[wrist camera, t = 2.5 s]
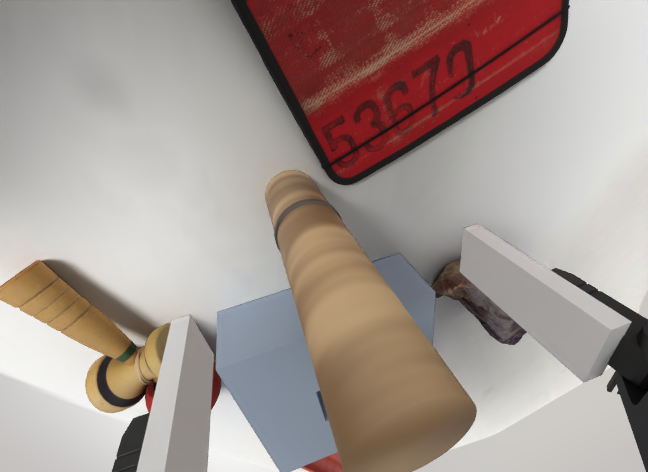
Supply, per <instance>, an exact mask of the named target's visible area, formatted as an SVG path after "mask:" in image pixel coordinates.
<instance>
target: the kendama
mask: <svg viewBox="0 0 648 472" xmlns="http://www.w3.org/2000/svg"><path fill="white" fill-rule="evenodd" d="M0 300H2V301H4V302H6V303H8V304H10V305H12V306H14V307H19V308H20V310H21V311H23V312H25V313H27V314H29V315H31V316H33V317H35V318H36V319H38V320H40V321H41V322H43V323H47V325H49V326H50V327H52V328H54V329H56V330H58V331H61V333H63V334H65V335H66V336H68V337H70V338H72V339H74V340H76V341H78V342H79V343H81V344H83V345H85V346H87V347H89V348H91V349H94V350H96V351H98V352H100V353H103V354H105V355H104V356H102V357H100V358H99V359H98V360H97V361H95V362H94V363H93V365H92V366H91V367H90V369H89V371H88V373H87V378H86V384H85V385H86V386H85V387H86V393H87V396H88V398H89V400H90V402H91V403H92V404H93V405H94V406H95V407H96V408H97V409H98V410H100V411H103V412H107V413H115V412H120V411H123V410H125V409H127V408H129V407H131V406H133V405H135V404H136V403H138V402H139V401H140V400H141V399H142V398H143V396H144V395H145V394H146V395H145V399H146V406H147V409H148V412H149V413H150V411H151V407H152V402H153V398H154V394H155V390H156V385H157V381H158V377H159V372H160V368H161V364H162V359H163V355H164V351H165V347H166V342H167V338H168V334H169V329H170V325H171V323H167V324H165V325H163V326H161V327H159V328H157V329H155V330H154V331H152V333H151V334H150V335H149V337H148V339H147V341H146V344H145V346H143V347H142V348H140V349H139V348H138V347H137V346H136V345H135V344H134V343H133V342H132V341H131V340H130V339H129V338H128V337H127V336H126V335H125V334H124V333H123V332H122V331H121V330H120V329H119V328H118V327H117V326H116V325H115V324H114V323H113V322H112V321H111V320H109V319H108V318H107V317H106V316H105V315H104V314H103V313H102V312H100V311H99V310H98V309H97V308H95V307H94V306H93V305H90V303H89V302H88V301H87V300H86V299H85V298H83V297H82V296H79V293H77V292H76V291H75V290H74V289H73V288H71V287H69V285H68V284H67V283H66V282H64V281H63V280H62V279H61V278H58V276H57V275H56V274H55V273H54V272H53V271H52V270H51V269H49V268H48V267H47V266H46V265H45V264H44V263H43V262H41V261H40V260H38V261H35V262H34V263H32V264H31V265H30V266H28V267H27V268H25V269H24V270H22V271H21V272H20V273H18V274H17V275H15V276H14V277H13V278H11V279H10V280H8V281H7V282H6V283H4V284H3V285H2V286H0ZM220 388H221V378H220V376H219V374H218V373H217V371H216V364H215V363H213V380H212V397H211V409H212V408H213V406H214V405H215V403H216V401H217V399H218V396H219V393H220Z"/></svg>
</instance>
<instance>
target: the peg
mask: <svg viewBox="0 0 648 472" xmlns="http://www.w3.org/2000/svg"><path fill="white" fill-rule="evenodd" d="M265 198H266V203H267V206H268V210H269V213H270V217H271V220H272V224H273V227H274V235H275V240H276V244H277V247H278V249H279V250H280V252H281V255H282V259H283V262H284V266H285V269H286V273H287V276H288V280H289V283H290V287H291V290H292V294H293V297H294V301H295V304H296V308H297V311H298V315H299V318H300V322H301V325H302V329H303V332H304V336H305V339H306V343H307V346H308V350H309V353H310V357H311V360H312V364H313V367H314V371H315V374H316V378H317V381H318V385H319V388H320V392H321V395H322V399H323V402H324V406H325V409H326V413H327V416H328V420H329V423H330V427H331V430H332V434H333V437H334V441H335V444H336V448H337V451H338V455H339V458H340V462H341V465H342V469H343V472H412V471H414V470H417V469H419V468H421V467H423V466H425V465H426V464H428V463H430V462H431V461H433V460H435V459H436V458H438V457H440V456H441V455H442V454H444V453H445V452H447V451H448V450H449V449H450V448H452V447H453V446H454V445H455V444H456V443H457V442H458V441H460V439H461V438H462V437H463V436H464V435H465V434H466V433H467V432H468V430H469V429H470V427H471V426H472V424H473V422H474V420H475V417H476V412H477V410H476V406H475V404H474V402H473V401H472V399H471V398H470V397H469V395H468V394H467V393H466V391H465V390H464V388H463V387H462V386H461V384H460V383H459V382H458V380H457V379H456V377H455V376H454V375H453V373H452V372H451V371H450V369H449V368H448V366H447V365H446V364H445V362H444V361H443V360H442V358H441V357H440V355H439V354H438V353H437V351H436V350H435V349H434V347H433V346H432V344H431V343H430V342H429V340H428V339H427V337H426V336H425V335H424V333H423V332H422V331H421V329H420V328H419V326H418V325H417V324H416V322H415V321H414V320H413V318H412V317H411V315H410V314H409V313H408V311H407V310H406V309H405V307H404V306H403V304H402V303H401V302H400V300H399V299H398V298H397V296H396V295H395V293H394V292H393V291H392V289H391V288H390V287H389V285H388V284H387V282H386V281H385V280H384V278H383V277H382V276H381V274H380V273H379V271H378V270H377V269H376V267H375V266H374V265H373V263H372V262H371V260H370V259H369V258H368V256H367V255H366V253H365V252H364V251H363V249H362V248H361V247H360V245H359V244H358V242H357V241H356V240H355V238H354V237H353V236H352V234H351V233H350V231H349V230H348V229H347V227H346V226H345V225H344V223H343V222H342V219H341V217H340V215H339V213H338V212H337V211H336V210H335V208H334V207H333V206H332V205H330V204H329V203H328V201H327V200H326V198H325V197H324V196H323V194H322V193H321V192H320V190H319V189H318V187H317V186H316V185H315V183H314V182H313V181H312V179H311V178H310V177H309V176H308V175H306V174H305V173H303V172H300V171H296V170H289V171H284V172H281V173H279V174H278V175H276V176H275V177H274V178H273V179H272V180H271V181H270V182H269V184H268V186H267V189H266V194H265Z"/></svg>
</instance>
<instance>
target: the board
mask: <svg viewBox="0 0 648 472" xmlns="http://www.w3.org/2000/svg"><path fill="white" fill-rule="evenodd" d="M372 263H373V265H374V266H375V267H376V269H377V270H378V271H379V273H380V274H381V276H382V277H383V278H384V280H385V281H386V282H387V284H388V285H389V287H390V288H391V289H392V291H393V292H394V293H395V295H396V296H397V298H398V299H399V300H400V302H401V303H402V304H403V306H404V307H405V309H406V310H407V311H408V313H409V314H410V315H411V317H412V318H413V320H414V321H415V322H416V324H417V325H418V326H419V328H420V329H421V331H422V332H423V333H424V335H425V336H426V337H427V339H428V340H429V342H430V343H431V344H432V346H433V330H434V312H435V293H436V292H435V291H434V290H433V289H432V288H431V287H430V286H429V285H428V284H427V282H426V281H425V280H424V279H423V278H422V277H421V276H420V275H419V274H418V273H417V271H416V270H415V269H414V268H413V267H412V266H411V265H410V264H409V263H408V262H407V260H406V259H405V258H404V257H403V256H402V255H401V254H400V253H399V254H396V255H392V256H389V257H386V258H383V259H380V260H377V261H374V262H372ZM216 371H217V373H218V374H219V376H220V378H221V379H222V381H223V382H224V384H225V386H226V387H227V389H228V390H229V392H230V393H231V395H232V397H233V398H234V400H235V401H236V403H237V405H238V406H239V408H240V409H241V411H242V412H243V414H244V416H245V417H246V419H247V420H248V422H249V424H250V425H251V427H252V428H253V430H254V431H255V433H256V435H257V436H258V438H259V439H260V441H261V443H262V444H263V446H264V447H265V449H266V450H267V452H268V454H269V455H270V457H271V458H272V460H273V462H274V463H275V465H276V466H277V468H278V469H279V471H280V472H291V471H293V470H296V469H298V468H300V467H303V466H305V465H308V464H310V463H312V462H315V461H317V460H320V459H322V458H324V457H327V456H329V455H332V454H334V453H336V452H338V451H337V448H336V444H335V441H334V437H333V434H332V430H331V427H330V423H329V420H328V416H327V413H326V409H325V406H324V402H323V399H322V395H321V392H320V388H319V385H318V381H317V378H316V374H315V371H314V367H313V364H312V360H311V357H310V353H309V350H308V346H307V343H306V339H305V336H304V332H303V329H302V325H301V322H300V318H299V315H298V311H297V308H296V304H295V301H294V297H293V294H292V290H291V288H290V289H287V290H284V291H281V292H278V293H275V294H272V295H269V296H266V297H263V298H259V299H256V300H253V301H250V302H247V303H244V304H241V305H238V306H235V307H232V308H229V309H225V310H222V311H219V312H218V314H217V343H216Z"/></svg>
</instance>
